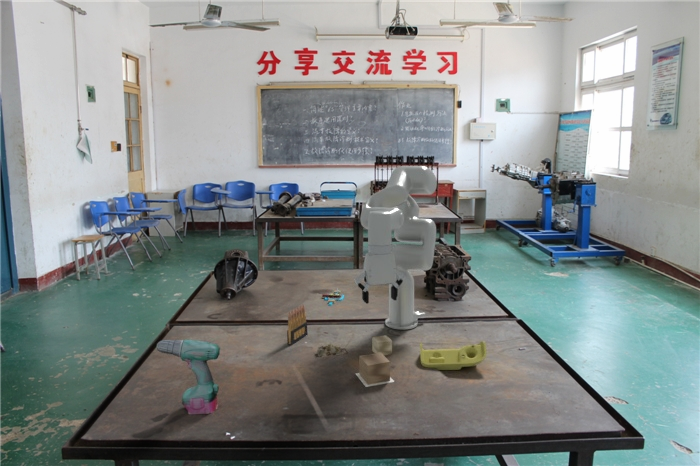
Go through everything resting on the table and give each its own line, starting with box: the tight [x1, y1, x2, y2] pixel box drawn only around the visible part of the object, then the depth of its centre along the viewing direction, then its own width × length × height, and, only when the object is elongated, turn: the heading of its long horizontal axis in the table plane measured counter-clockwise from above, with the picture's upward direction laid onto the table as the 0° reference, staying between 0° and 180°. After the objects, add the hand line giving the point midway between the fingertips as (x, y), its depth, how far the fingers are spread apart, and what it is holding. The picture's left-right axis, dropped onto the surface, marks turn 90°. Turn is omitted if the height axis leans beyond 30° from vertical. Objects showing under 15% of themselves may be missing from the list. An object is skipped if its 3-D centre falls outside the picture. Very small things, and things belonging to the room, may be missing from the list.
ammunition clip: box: [286, 303, 308, 346], centre depth 188 cm, size 11×2×12 cm, turn 153°
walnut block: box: [358, 352, 391, 385], centre depth 156 cm, size 7×7×6 cm
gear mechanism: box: [321, 287, 345, 306], centre depth 235 cm, size 20×5×9 cm
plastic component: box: [419, 341, 488, 371], centre depth 167 cm, size 20×8×10 cm
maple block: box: [371, 334, 393, 356], centre depth 174 cm, size 5×5×6 cm
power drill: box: [156, 339, 221, 415], centre depth 141 cm, size 7×16×20 cm, turn 95°
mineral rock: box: [316, 343, 348, 358], centre depth 176 cm, size 11×4×8 cm
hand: (380, 300), depth 171 cm, fingers open, 9 cm apart
